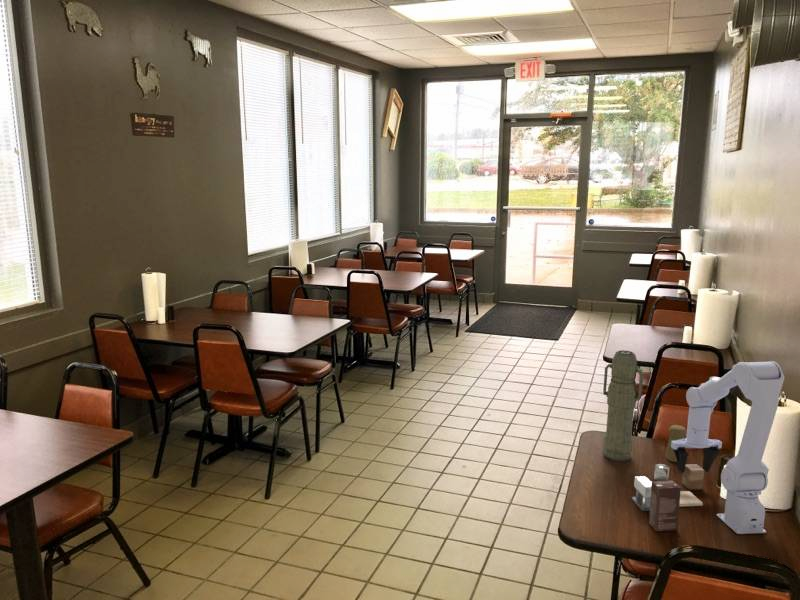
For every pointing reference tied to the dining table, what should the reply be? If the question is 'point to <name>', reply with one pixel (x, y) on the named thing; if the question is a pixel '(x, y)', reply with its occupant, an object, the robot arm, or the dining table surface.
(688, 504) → the birch pad
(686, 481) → the walnut block
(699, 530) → the dining table surface
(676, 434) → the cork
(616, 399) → the green thermos bottle
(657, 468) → the round canister
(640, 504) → the mounted unit
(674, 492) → the box
